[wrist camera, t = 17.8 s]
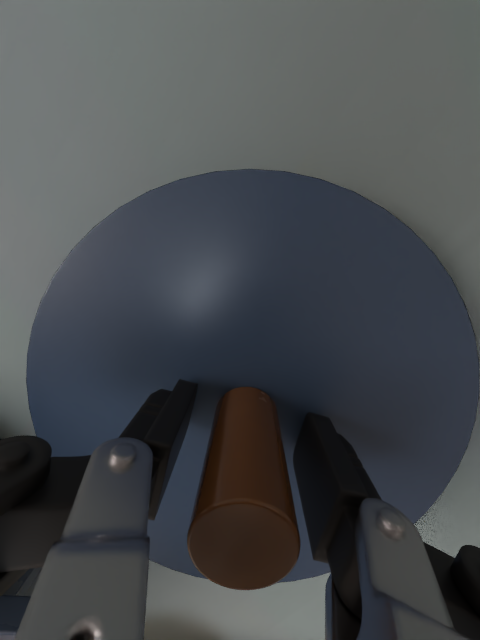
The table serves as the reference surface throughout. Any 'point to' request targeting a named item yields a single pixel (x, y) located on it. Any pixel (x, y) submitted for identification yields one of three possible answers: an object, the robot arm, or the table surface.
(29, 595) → the pan
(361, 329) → the pan lid
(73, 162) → the table surface
